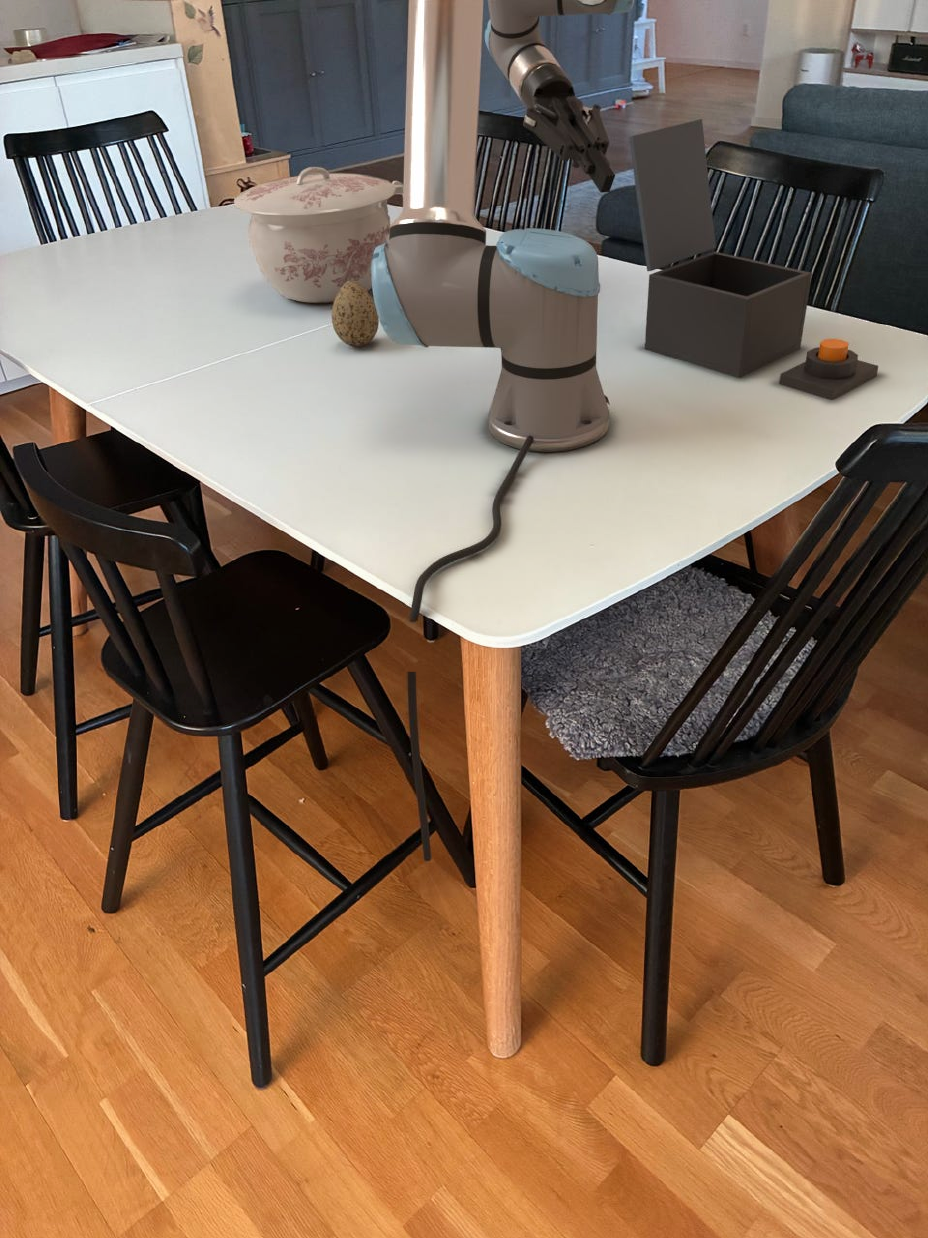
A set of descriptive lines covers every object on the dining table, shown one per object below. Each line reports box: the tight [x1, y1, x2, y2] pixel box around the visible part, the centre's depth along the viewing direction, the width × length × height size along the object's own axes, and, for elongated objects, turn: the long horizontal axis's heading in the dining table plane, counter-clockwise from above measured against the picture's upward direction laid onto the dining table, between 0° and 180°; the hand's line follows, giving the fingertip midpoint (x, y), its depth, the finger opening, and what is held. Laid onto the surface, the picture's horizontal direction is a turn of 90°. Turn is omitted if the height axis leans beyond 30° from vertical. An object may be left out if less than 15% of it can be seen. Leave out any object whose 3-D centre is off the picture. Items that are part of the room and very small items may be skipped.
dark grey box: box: [644, 251, 813, 379], centre depth 140 cm, size 17×15×11 cm
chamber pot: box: [233, 166, 404, 304], centre depth 168 cm, size 28×28×21 cm
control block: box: [778, 346, 879, 401], centre depth 131 cm, size 8×11×4 cm
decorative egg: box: [331, 281, 380, 348], centre depth 149 cm, size 7×7×10 cm
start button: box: [818, 338, 850, 361], centre depth 130 cm, size 4×4×2 cm
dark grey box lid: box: [628, 118, 717, 272], centre depth 138 cm, size 18×15×1 cm
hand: (607, 183), depth 140 cm, fingers closed
